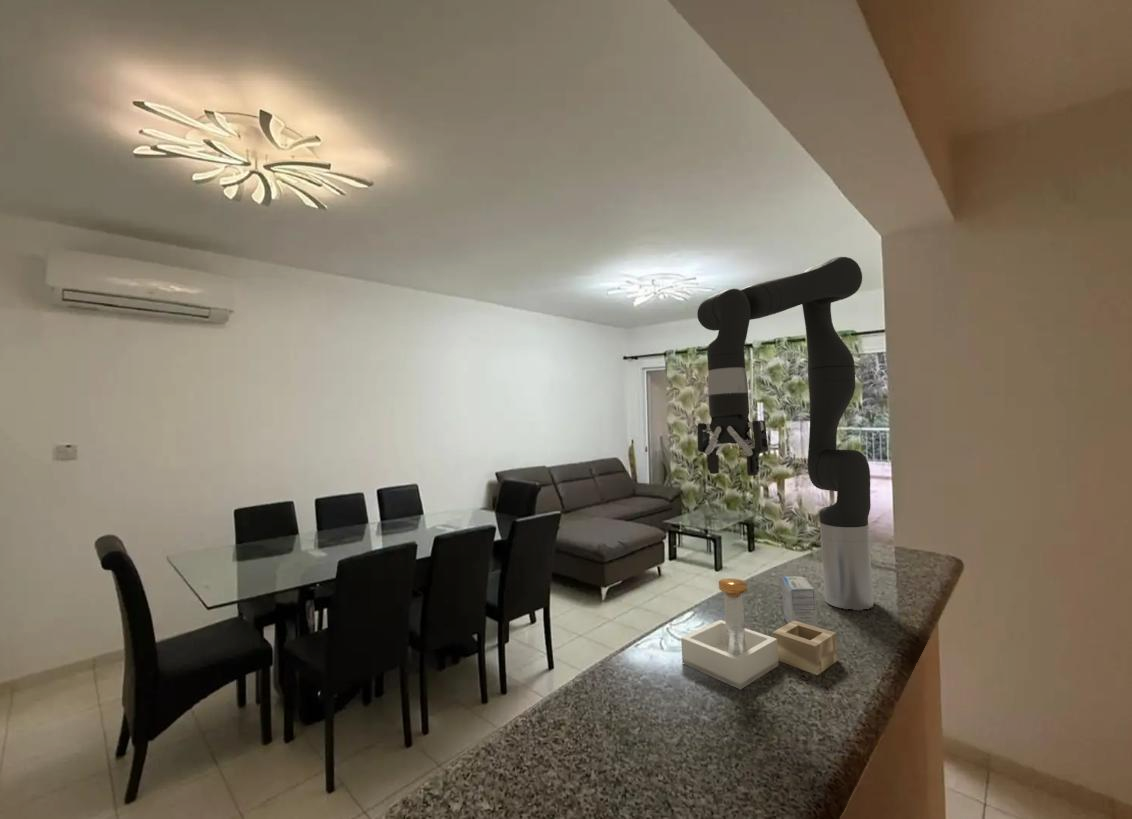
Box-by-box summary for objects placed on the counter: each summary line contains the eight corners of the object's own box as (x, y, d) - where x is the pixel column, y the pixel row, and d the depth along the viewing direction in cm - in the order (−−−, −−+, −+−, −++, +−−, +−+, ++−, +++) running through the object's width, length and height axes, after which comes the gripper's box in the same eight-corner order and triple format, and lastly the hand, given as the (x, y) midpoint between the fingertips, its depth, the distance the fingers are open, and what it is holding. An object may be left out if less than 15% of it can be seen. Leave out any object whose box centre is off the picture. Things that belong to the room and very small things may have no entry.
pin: (733, 653, 83) (728, 576, 83) (756, 662, 79) (752, 582, 80) (717, 661, 80) (713, 582, 81) (741, 671, 77) (736, 589, 77)
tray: (721, 643, 89) (720, 619, 89) (778, 665, 80) (777, 638, 80) (682, 663, 82) (681, 637, 82) (740, 689, 73) (738, 660, 73)
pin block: (795, 646, 86) (794, 620, 86) (838, 660, 81) (836, 632, 81) (774, 659, 82) (772, 632, 82) (817, 675, 76) (815, 646, 76)
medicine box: (819, 636, 90) (816, 589, 90) (793, 635, 91) (790, 588, 91) (806, 619, 97) (804, 576, 98) (783, 618, 98) (780, 575, 99)
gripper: (771, 389, 92) (777, 474, 92) (709, 395, 104) (713, 471, 103) (749, 389, 88) (755, 478, 87) (686, 395, 99) (691, 474, 99)
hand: (732, 474), depth 95 cm, fingers open, 8 cm apart
